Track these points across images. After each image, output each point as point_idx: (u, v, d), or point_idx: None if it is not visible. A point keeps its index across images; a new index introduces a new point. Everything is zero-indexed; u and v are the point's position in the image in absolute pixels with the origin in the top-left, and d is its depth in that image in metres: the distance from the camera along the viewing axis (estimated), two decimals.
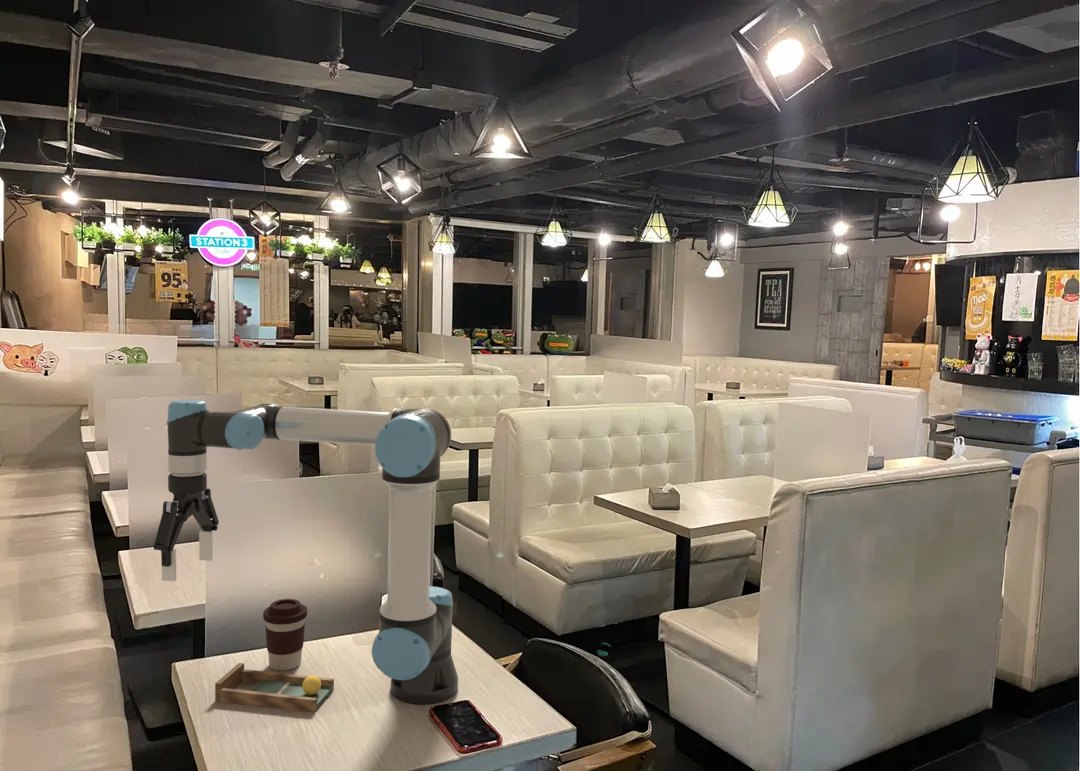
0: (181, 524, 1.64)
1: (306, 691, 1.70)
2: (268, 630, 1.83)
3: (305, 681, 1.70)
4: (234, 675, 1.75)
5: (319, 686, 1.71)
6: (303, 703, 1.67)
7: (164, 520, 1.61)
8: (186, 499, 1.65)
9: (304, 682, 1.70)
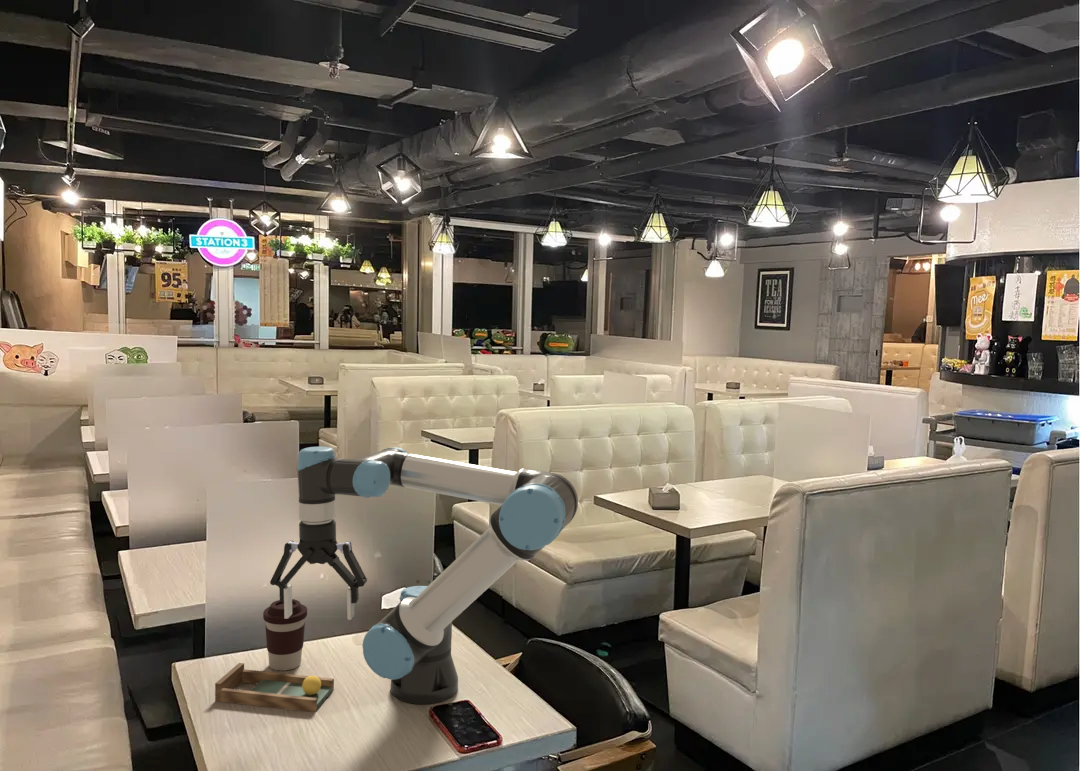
0: (296, 567, 1.67)
1: (306, 691, 1.70)
2: (268, 630, 1.83)
3: (305, 681, 1.70)
4: (234, 675, 1.75)
5: (319, 686, 1.71)
6: (303, 703, 1.67)
7: None
8: (305, 545, 1.67)
9: (304, 682, 1.70)
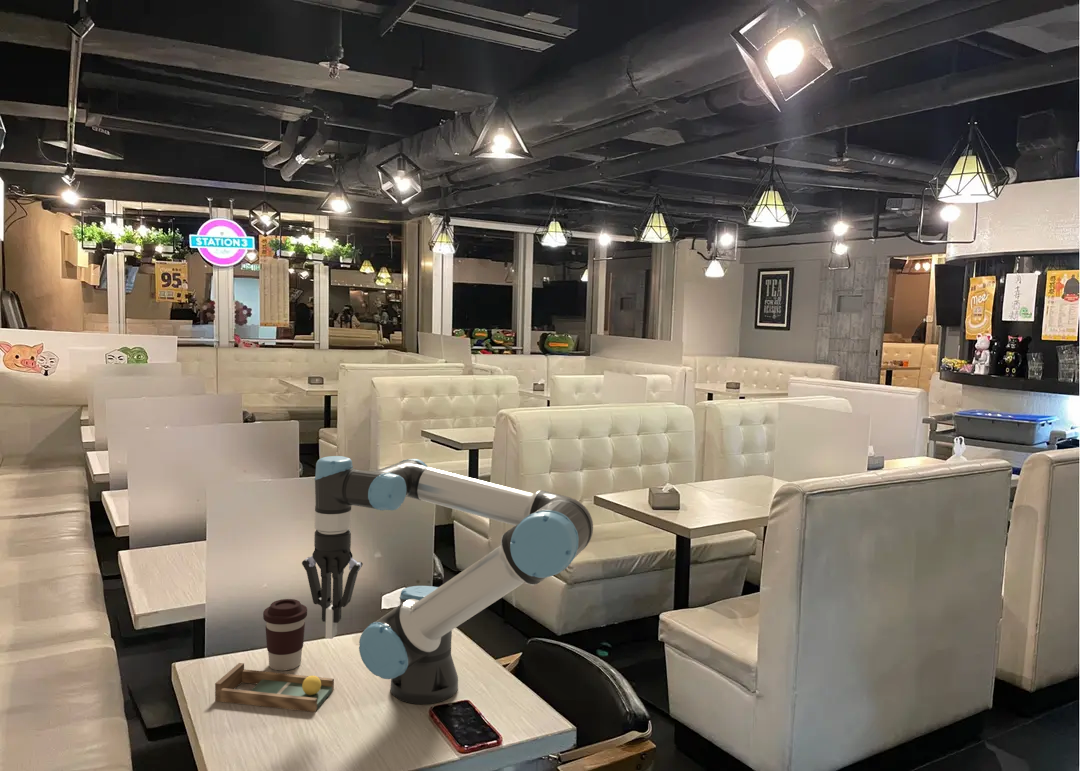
0: (324, 581, 1.67)
1: (306, 691, 1.70)
2: (268, 630, 1.83)
3: (305, 681, 1.70)
4: (234, 675, 1.75)
5: (319, 686, 1.71)
6: (303, 703, 1.67)
7: None
8: (318, 551, 1.67)
9: (304, 682, 1.70)
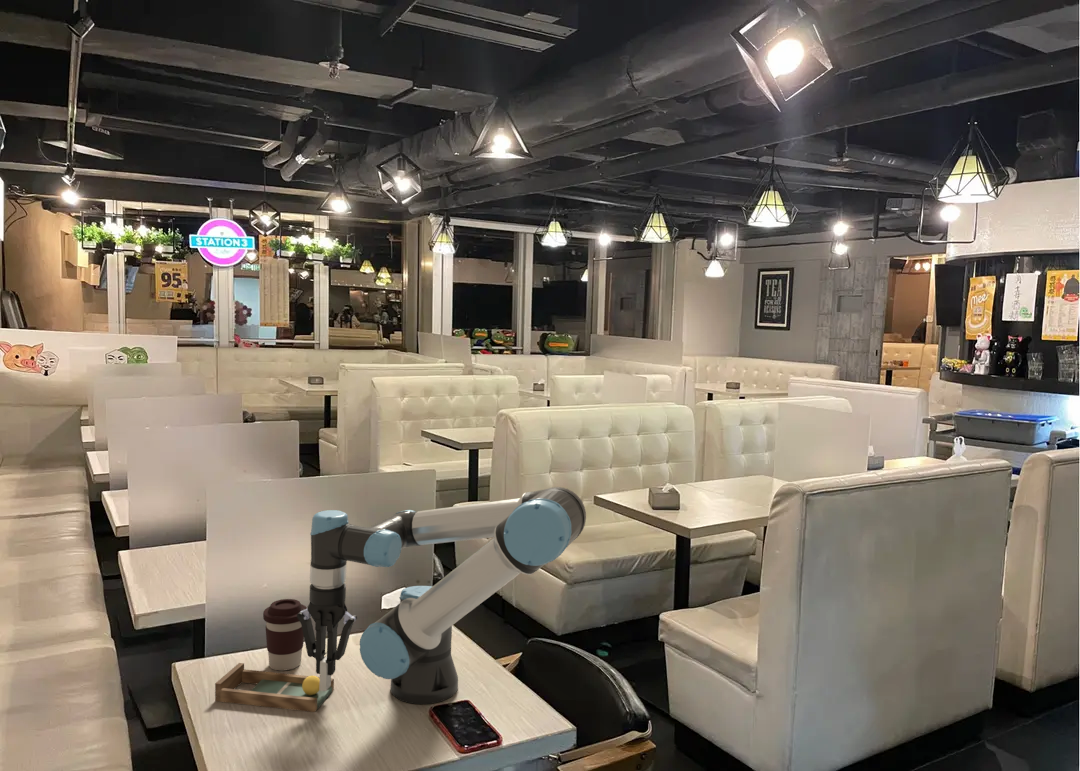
0: (319, 634, 1.69)
1: (306, 691, 1.70)
2: (268, 630, 1.83)
3: (305, 681, 1.70)
4: (234, 675, 1.75)
5: None
6: (303, 703, 1.67)
7: None
8: (313, 605, 1.69)
9: (304, 682, 1.70)
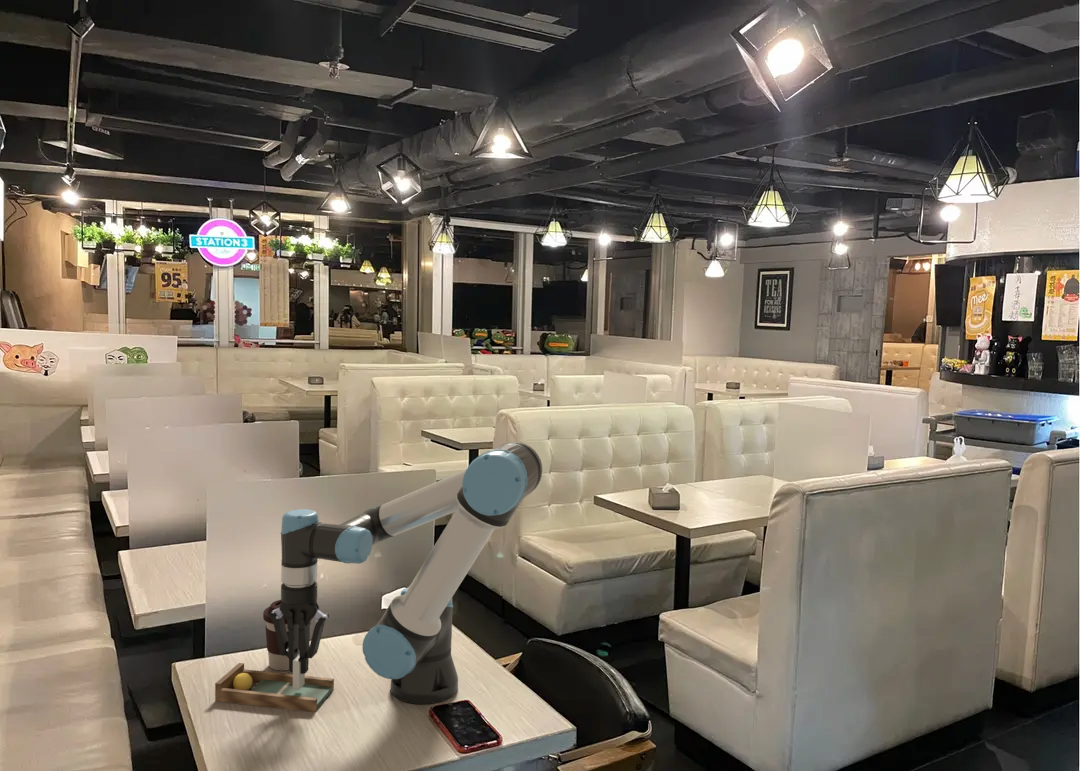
0: (291, 633, 1.70)
1: (241, 686, 1.72)
2: (268, 630, 1.83)
3: None
4: (234, 675, 1.75)
5: (236, 676, 1.74)
6: (303, 703, 1.67)
7: None
8: (284, 604, 1.69)
9: None
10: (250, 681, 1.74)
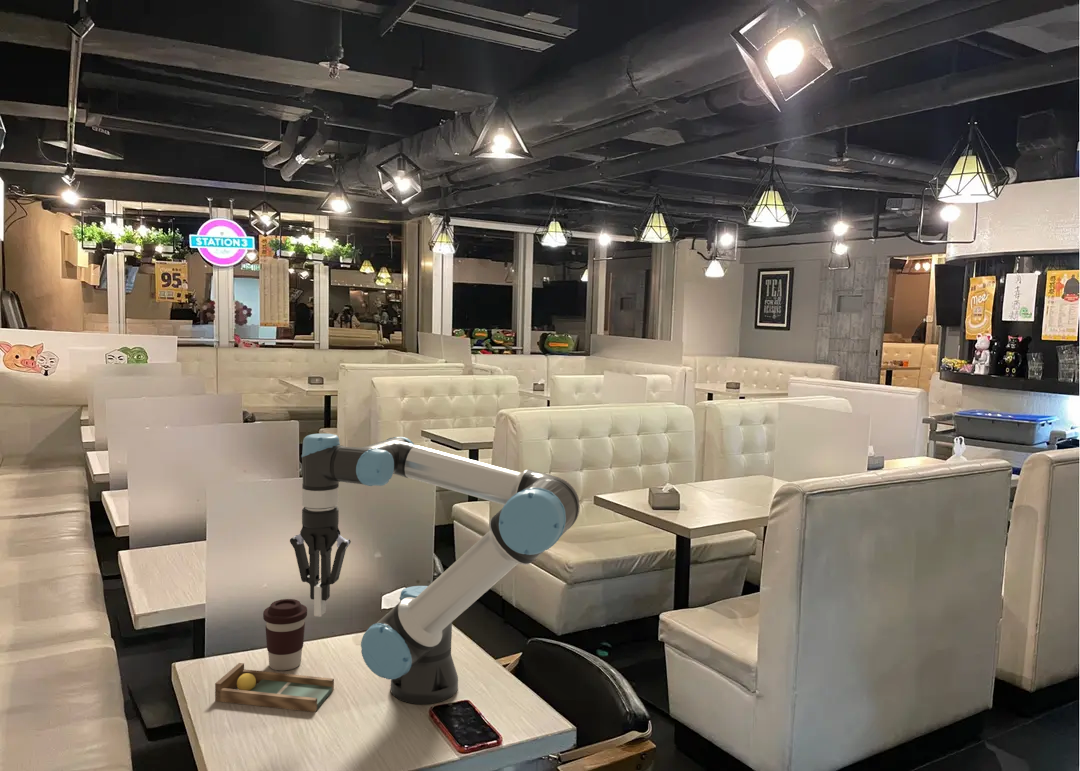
0: (312, 558, 1.67)
1: (244, 687, 1.72)
2: (268, 630, 1.83)
3: None
4: (234, 675, 1.75)
5: (243, 675, 1.73)
6: (303, 703, 1.67)
7: None
8: (305, 529, 1.67)
9: None
10: (254, 685, 1.74)
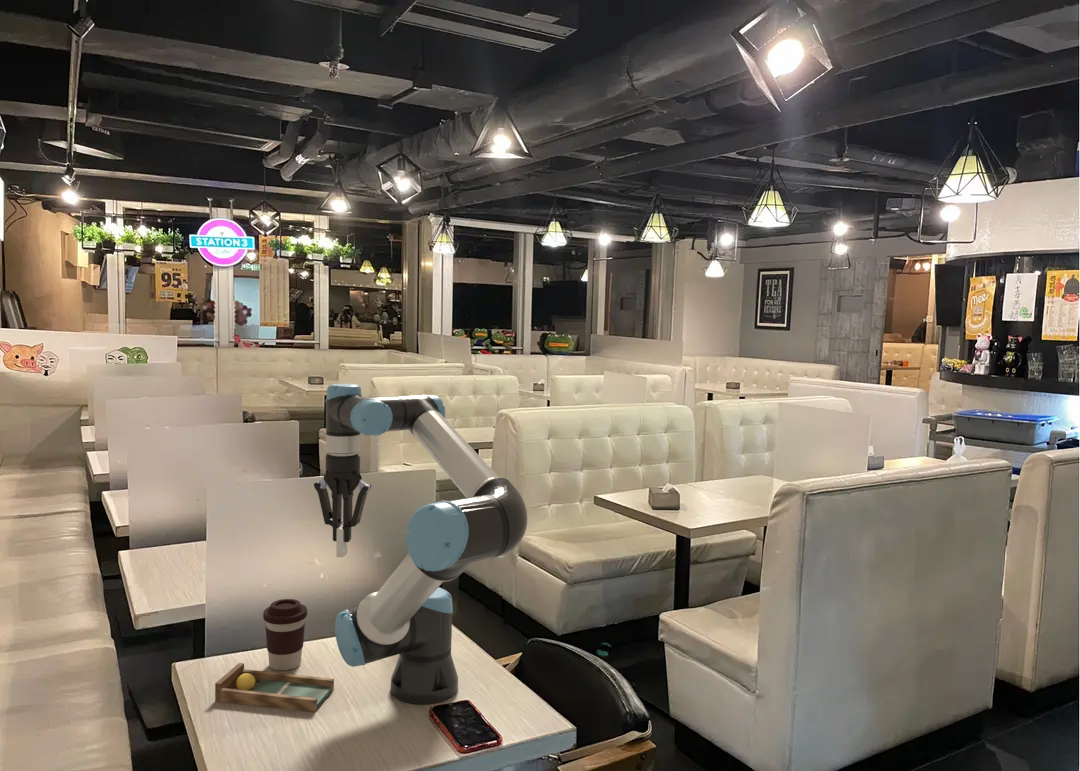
0: (335, 502, 1.76)
1: (243, 687, 1.72)
2: (268, 630, 1.83)
3: (238, 689, 1.73)
4: (234, 675, 1.75)
5: (241, 675, 1.73)
6: (303, 703, 1.67)
7: None
8: (329, 474, 1.76)
9: None
10: (253, 684, 1.74)
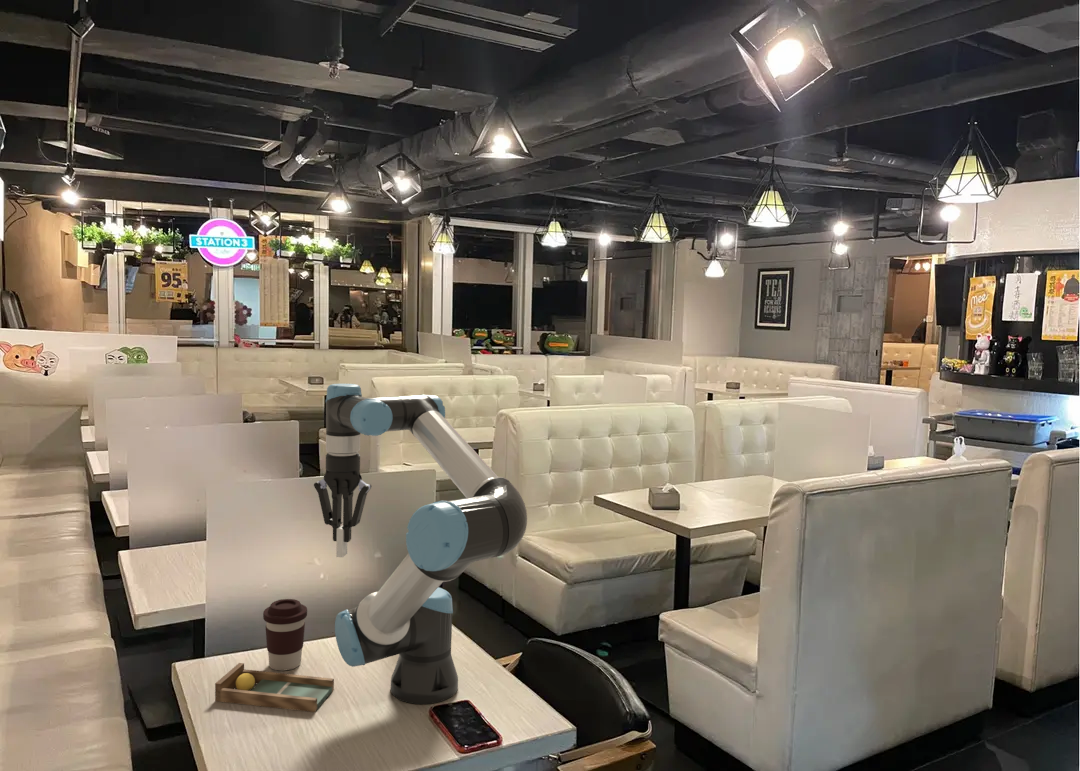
0: (335, 502, 1.76)
1: (243, 687, 1.72)
2: (268, 630, 1.83)
3: None
4: (234, 675, 1.75)
5: (241, 675, 1.74)
6: (303, 703, 1.67)
7: None
8: (329, 474, 1.76)
9: None
10: (253, 684, 1.74)
